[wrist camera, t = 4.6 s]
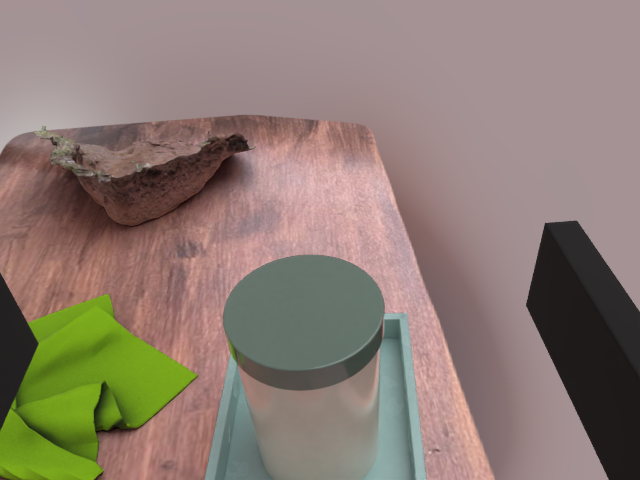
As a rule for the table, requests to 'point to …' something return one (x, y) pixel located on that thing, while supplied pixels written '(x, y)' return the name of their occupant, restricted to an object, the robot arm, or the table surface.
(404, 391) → the teal and tan box
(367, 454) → the jar
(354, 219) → the table surface
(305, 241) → the table surface
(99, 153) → the rock
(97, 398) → the cloth
